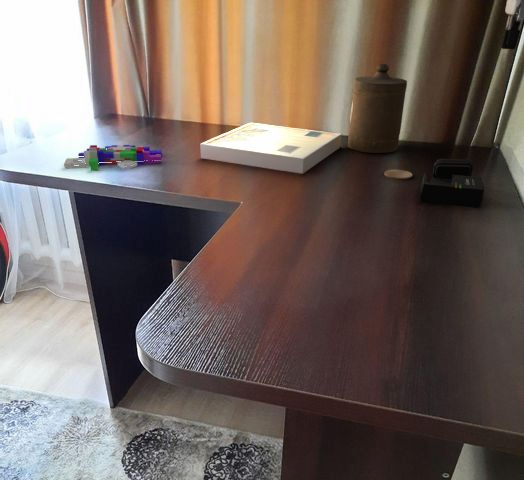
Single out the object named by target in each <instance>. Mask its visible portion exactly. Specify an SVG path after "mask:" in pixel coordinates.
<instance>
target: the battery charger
mask: <svg viewBox="0 0 524 480" xmlns="http://www.w3.org/2000/svg"><path fill="white" fill-rule="evenodd" d="M484 192H485V187H484V183H483V179H482V177H481V176H472V175H471V176H462V175H453V176H452V180H451V184H444V183H433V182H430V181H428V172H427V171H424V173H423V176H422V180H421V187H420V196H419V197H420V198H419V202H420V203H428V204H429V203H431V204H438V205H439V204H440V205H447V206H448V205H449V206H459V207H470V208H476V209H477V208H479V209H480V208H481V204H482V201H483V198H484Z"/></svg>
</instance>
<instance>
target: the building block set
mask: <svg viewBox="0 0 524 480" xmlns="http://www.w3.org/2000/svg"><path fill="white" fill-rule="evenodd" d="M106 148H107V150H106ZM150 148H151V147H150V146H144V145H138V146H136V145H133V144H131V145H130V144H123V145H118V144H115V145H114V144H111V145H107V146H106V145H105V146H104V147H98V145H97V144H91V145H89V148H86V150H83V152H78V155H77V156H84V157H70V158H69V157H68V158H66V159H65V160H64V162H63V166H64V169H83V168H85V169H86V168H87V167H89V168H90V171H91V172H94V171H95V172H96V171H97V172H98V170H99V167H100V166H117V167H118V168H120V169H123V170H130V169H134V168H136V167H138V166H142V165H146V164H148V165H149V164H162V163H163V162H162V161H154V160H162V157H163V152H162V150H161V149H152V150H151V149H150ZM156 154H161V155H156ZM78 160H82V161H78ZM144 160H145V161H144ZM146 160H148V161H146ZM152 160H153V161H152ZM116 161H121V162H116ZM135 161H144V162H135ZM99 162H112V163H99ZM85 163H86V164H85ZM98 163H99V164H98ZM135 163H137V164H135ZM118 164H120V165H118ZM133 164H135V165H133ZM74 165H79V166H74ZM121 165H123V166H127V167H123V166H121ZM130 165H133V166H130Z"/></svg>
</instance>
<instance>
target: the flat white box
mask: <svg viewBox="0 0 524 480" xmlns="http://www.w3.org/2000/svg"><path fill="white" fill-rule="evenodd" d="M342 137H343V134H342V133H339V132H330V131H322V130H314V129H313V130H312V129H307V128H305V129H304V128H298V127H289V126H281V125H271V124H265V123H256V122H255V123H254V122H249V123H246V124H244V125H241V126H239V127H237V128H235V129H232V130H229V131H228V132H225V133H222V134H220V135H218V136H215V137H212V138H211V139H208V140H206V141H203V142H201V143H199V148H200V158H201V159H204V160H211V161H218V162H224V163H231V164H237V165H243V166H250V167H255V168H256V167H257V168H262V169H263V168H264V169H268V170H269V169H270V170H275V171H282V172H288V173H295V174H302V175H303V174H305V173H306V172H307V171H309V170H310V169H311V168H313V167H315V166H316V165H317V164H318V163H320V162H322V161H323V160H324V159H326V158H327V157H329V156H330V155H331V154H333V153H334V152H335V151H337V150H339V149H340V148H341V145H342Z"/></svg>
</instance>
